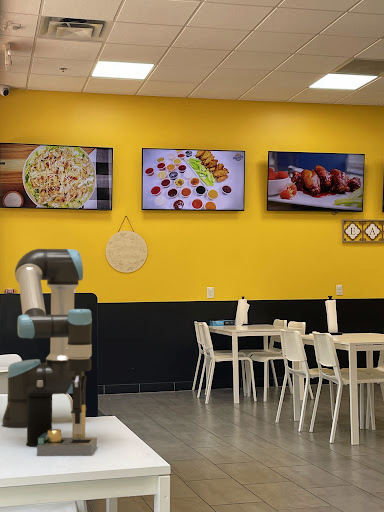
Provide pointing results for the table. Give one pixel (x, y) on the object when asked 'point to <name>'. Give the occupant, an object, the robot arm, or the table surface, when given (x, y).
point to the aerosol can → (38, 413)
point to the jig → (64, 445)
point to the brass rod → (82, 425)
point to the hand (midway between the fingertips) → (78, 432)
